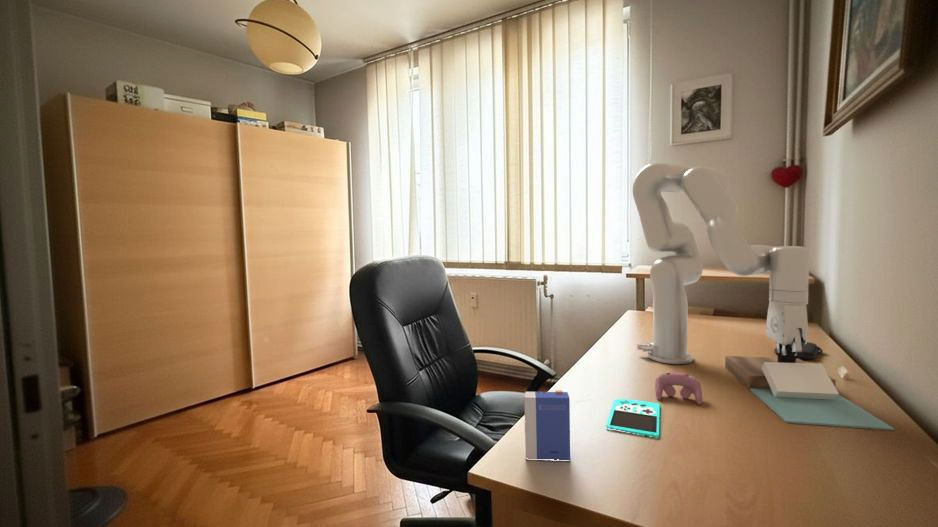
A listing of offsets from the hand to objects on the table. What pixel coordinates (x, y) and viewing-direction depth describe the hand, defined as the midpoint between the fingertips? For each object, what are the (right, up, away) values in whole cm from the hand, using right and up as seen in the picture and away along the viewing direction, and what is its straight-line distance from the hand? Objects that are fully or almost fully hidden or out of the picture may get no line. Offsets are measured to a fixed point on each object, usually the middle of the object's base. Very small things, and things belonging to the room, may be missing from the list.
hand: (786, 369), depth 101 cm
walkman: (-64, -9, -28) cm, 71 cm away
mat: (-3, -5, -11) cm, 13 cm away
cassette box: (-1, -2, -4) cm, 5 cm away
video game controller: (-29, -6, -4) cm, 30 cm away
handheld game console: (-43, -8, -13) cm, 45 cm away
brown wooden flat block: (+1, -4, +5) cm, 7 cm away
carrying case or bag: (+24, -2, +26) cm, 35 cm away
